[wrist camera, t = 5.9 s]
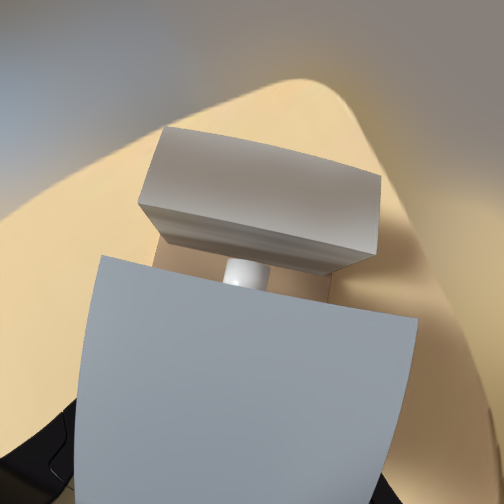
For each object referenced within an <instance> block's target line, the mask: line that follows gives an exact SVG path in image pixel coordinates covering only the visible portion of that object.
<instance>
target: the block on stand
mask: <svg viewBox="0 0 504 504" xmlns="http://www.w3.org/2000/svg"><path fill="white" fill-rule="evenodd" d="M380 196H381V176H380V175H377V174H374V173H371V172H368V171H364V170H361V169H358V168H355V167H351V166H348V165H345V164H341V163H338V162H334V161H331V160H327V159H323V158H320V157H316V156H312V155H308V154H305V153H301V152H297V151H293V150H289V149H284V148H280V147H276V146H272V145H267V144H263V143H258V142H253V141H249V140H244V139H239V138H234V137H228V136H223V135H218V134H212V133H206V132H200V131H194V130H188V129H181V128H175V127H168V126H164V129H163V131H162V134H161V136H160V139H159V142H158V144H157V147H156V150H155V153H154V155H153V158H152V161H151V164H150V167H149V170H148V172H147V175H146V178H145V181H144V184H143V188H142V191H141V194H140V197H139V200H138V204H139V206H140V207H141V209H142V210H143V211H144V213H145V214H146V215H147V217H148V218H149V219H150V221H151V222H152V223H153V225H154V226H155V227H156V229H157V230H158V231H159V233H160V238H159V242H158V246H157V249H156V253H155V257H154V262H153V266H152V267H154V268H158V269H163V270H167V271H172V272H176V273H180V274H185V275H189V276H194V277H198V278H203V279H208V280H212V281H217V282H222V283H223V279H224V274H225V270H226V265H227V260H228V259H243V260H249V261H254V262H258V263H261V264H264V265H267V266H269V267H270V268H271V269H270V275H269V280H268V285H267V290H266V292H270V293H275V294H280V295H286V296H291V297H296V298H301V299H307V300H312V301H317V302H323V303H327V302H328V296H329V289H330V283H331V276H332V272H334V271H337V270H339V269H342V268H345V267H347V266H350V265H352V264H355V263H357V262H360V261H362V260H365V259H367V258H370V257H372V256H374V255H376V252H377V241H378V229H379V215H380Z"/></svg>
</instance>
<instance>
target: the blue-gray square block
mask: <svg viewBox="0 0 504 504" xmlns="http://www.w3.org/2000/svg"><path fill="white" fill-rule="evenodd" d="M270 269H271V268H270V267H269V266H267V265H264V264H261V263H258V262H254V261H249V260H243V259H228V260H227V265H226V270H225V274H224V279H223V283H222V282H217V281H212V280H208V279H203V278H198V277H194V276H189V275H185V274H180V273H176V272H172V271H167V270H163V269H158V268H154V267H150V266H146V265H141V264H137V263H133V262H129V261H125V260H121V259H116V258H112V257H108V256H104V255H102V256H101V260H100V264H99V268H98V272H97V276H96V281H95V285H94V290H93V294H92V299H91V304H90V309H89V314H88V320H87V325H86V331H85V337H84V344H83V350H82V357H81V365H80V373H79V382H78V392H77V403H76V417H75V439H74V484H75V504H369V501H370V499H371V497H372V494H373V492H374V489H375V487H376V484H377V482H378V479H379V476H380V474H381V471H382V468H383V465H384V462H385V460H386V457H387V454H388V451H389V448H390V444H391V441H392V438H393V435H394V431H395V428H396V425H397V421H398V417H399V414H400V410H401V406H402V402H403V398H404V394H405V390H406V386H407V381H408V377H409V372H410V367H411V362H412V357H413V351H414V346H415V340H416V333H417V327H418V320H419V319H418V318H411V317H405V316H399V315H392V314H386V313H380V312H374V311H368V310H362V309H356V308H351V307H345V306H339V305H334V304H328V303H323V302H317V301H312V300H307V299H301V298H296V297H291V296H286V295H280V294H275V293H270V292H266V290H267V285H268V280H269V275H270Z"/></svg>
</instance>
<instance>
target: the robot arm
mask: <svg viewBox="0 0 504 504" xmlns="http://www.w3.org/2000/svg"><path fill="white" fill-rule="evenodd" d="M76 403H77V398H76V399H75V400H74V401H73V402H71V403H70V404H69V405H68V406H67V407H66V408H65V409H64V410H63V412H61V413H60V414H58V415H57V416H56V417H55V418H54V419H53V420H52V421H51V422H50V423H49V424H47V425H46V426H45V427H44V428H43V429H42V430H40V431H39V432H38V433H36V434H35V435H34V436H32V437H31V438H30V439H28V440H27V441H25V442H24V443H22V444H21V445H20V446H18V447H17V448H15V449H14V450H13V451H11V452H10V453H8V454H7V455H5V456H4V457H2V458H0V504H75V484H74V439H75V417H76ZM369 504H403V503H402V502H401V501H400V499H399V498H398V497H397V495H396V494H395V493H394V491H393V490H392V488H391V487H390V485H389V484H388V482H387V481H386V479H385V477H384V476H383V474H382V472H381V474H380V476H379V479H378V482H377V484H376V487H375V489H374V492H373V494H372V497H371V499H370V501H369Z"/></svg>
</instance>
